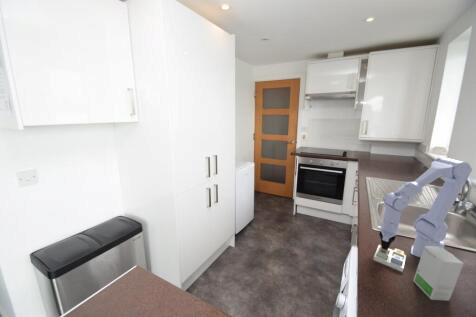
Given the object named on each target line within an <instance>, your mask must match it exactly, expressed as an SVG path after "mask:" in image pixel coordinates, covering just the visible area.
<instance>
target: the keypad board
mask: <svg viewBox="0 0 476 317" xmlns="http://www.w3.org/2000/svg"><path fill="white" fill-rule="evenodd" d="M380 247H381V244H378V246H377V248H376V251H375V253H374V255H373V260H372V261H373V262H376V263H379V265H380V264H381V265H382V266H385V267H388V268H390V269H391V270H395V271H397V272H399V273H402V274H403V272H404V270H405V262H406V258H407V254H405V253H404V255H403V260H402V264H401V266H400V265H397V264H395V263H393V262H392V257H393V254H394V250H395V249H392V248H390V249H389V253H388V255H387V259H386V260H385V259H383V258H380V257H378V256H377V255H378V251H379V248H380Z"/></svg>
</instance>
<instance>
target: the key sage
mask: <svg viewBox="0 0 476 317" xmlns="http://www.w3.org/2000/svg"><path fill="white" fill-rule="evenodd" d="M387 255H388V251H385V250H383V249H380V248H379V251H378V255H377V256H378V257H380V258H383V259H385V260H386V259H387Z"/></svg>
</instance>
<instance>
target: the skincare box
mask: <svg viewBox="0 0 476 317" xmlns="http://www.w3.org/2000/svg"><path fill="white" fill-rule="evenodd" d="M464 264H465V263H464V262H463V261H461V260H460V259H459V258H457V257H455V255H454V254H453V253H452V252H449V251H447V250H446V249H445V247H444V248H442V247H435V246H424V249H423V252H422V255H421V258H420V259H419V263H418V265H417V267H416V272H415V275H414V278H413V281H412V282H414V283H415V284H416V286H417V287H418V288H419V289H420V290H421V291H422V292H423V293H424V295H426V297H428V298H429V299H430V300H431V301H447V302H449V301H450V299H451V298H452V295H453V292H454V289H455V288H456V284H457V282H458V279H459V277H460V274H461V272H462V270H463V269H462V268H463V266H464Z"/></svg>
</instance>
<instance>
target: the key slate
mask: <svg viewBox="0 0 476 317" xmlns="http://www.w3.org/2000/svg"><path fill="white" fill-rule="evenodd" d="M402 260H403V257H401V256H398V255H396V254H393V257H392V262H393V263H395V264H397V265H400V266H401V264H402Z"/></svg>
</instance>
